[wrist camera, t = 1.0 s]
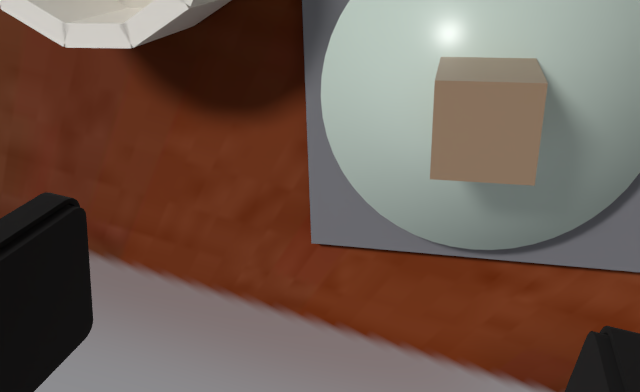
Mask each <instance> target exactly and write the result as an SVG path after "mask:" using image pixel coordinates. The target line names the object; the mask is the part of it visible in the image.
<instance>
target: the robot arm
mask: <svg viewBox="0 0 640 392" xmlns="http://www.w3.org/2000/svg"><path fill="white" fill-rule="evenodd" d="M91 297H92V296H91V283H90V268H89V252H88V237H87V222H86V213H85V211H84V209H82V208H80V205H79V203H78V201H77V200H75V199H74V198H70V197H65V196H61V195H57V194H53V193H46V192H45V193H43V194H40V195H39V196H37V197H36V198H34V199H32V200H31V201H29V202H27V203H26V204H24V205H22V206H21V207H19V208H17V209H16V210H14V211H12V212H11V213H9V214H7V215H6V216H4V217H3V218H1V219H0V392H34V391H35V390H36V389H37V388H38V387H39V386H40V385H41V384H42V383H43V382H44V381H45V380H46V379H47V378H48V377H49V375H50V374H51V373H52V372H53V371H54V370H55V369H56V368H57V367H58V366H59V365H60V364H61V363H62V362H63V361H64V360H65V359H66V358H67V357H68V356H69V355H70V354H71V353H72V352H73V351H74V350H75V349H76V348H77V346H79V345H80V343H82V341H83V340H84V339H85V338H86V337H87V336H88V334H89V332H90V330H91V328H92V324H93V312H92V298H91ZM565 392H640V334H639V333H635V332H631V331H627V330H622V329H618V328H614V327H610V326H605V327H603V329H602V330H601V331H600V333H597V332H593V331H591V332H590V333H589V334H588V335H587V338H586V340H585V342H584V345H583V347H582V350H581V352H580V355H579V357H578V360H577V362H576V365H575V367H574V370H573V372H572V375H571V377H570V380H569V382H568V385H567V388H566V390H565Z"/></svg>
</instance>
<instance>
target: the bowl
mask: <svg viewBox="0 0 640 392" xmlns="http://www.w3.org/2000/svg"><path fill="white" fill-rule="evenodd" d="M230 1H231V0H0V7H1V10H3V11H5V12H6V13H8V14H10V15H11V16H13V17H15V18H16V19H18V20H20V21H21V22H23V23H25V24H26V25H28V26H30V27H31V28H33V29H35V30H36V31H38V32H40V33H41V34H43V35H45V36H46V37H48V38H50V39H51V40H53V41H55V42H56V43H58V44H60V45H61V46H63V47H64V46H65V47H68V48H134V47H137V46H140V45H143V44H145V43H148V42H151V41H154V40H156V39H159V38H162V37H165V36H168V35H170V34H173V33H176V32H179V31H182V30H184V29H187V28H190V27H193V26H195V25H196V24H198V23H199V22H201V21H202V20H204V19H205V18H206V17H208V16H209V15H211V14H212V13H214V12H215V11H217V10H218V9H220V8H221V7H222V6H224V5H225V4H227V3H228V2H230Z"/></svg>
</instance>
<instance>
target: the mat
mask: <svg viewBox="0 0 640 392" xmlns="http://www.w3.org/2000/svg"><path fill="white" fill-rule="evenodd" d="M349 1H350V0H302V14H303V39H304V64H305V90H306V115H307V140H308V166H309V191H310V216H311V242H312V243H315V244H327V245H338V246H349V247H360V248H372V249H383V250H394V251H405V252H417V253H428V254H439V255H450V256H462V257H473V258H484V259H495V260H506V261H518V262H529V263H540V264H551V265H563V266H574V267H585V268H596V269H608V270H619V271H630V272H640V173H639V174H638V176H637V177H636V178H635V179H634V180H633V182H632V183H631V184H630V185H629V187H628V188H627V189H626V190H625V191H624V192H623V193H622V194H621V195H620V196H619V197H618V198H617V199H616V200H615V201H614V202H613V203H611V204H610V205H609V206H608V207H607V208H605V209H604V210H603V211H601V212H600V213H599V214H597V215H596V216H595V217H593V218H592V219H590V220H588V221H587V222H585V223H583V224H582V225H580V226H578V227H576V228H575V229H573V230H571V231H568V232H566V233H564V234H561V235H559V236H557V237H555V238H552V239H549V240H545V241H542V242H539V243H536V244H532V245H527V246H522V247H517V248H511V249H498V250H474V249H465V248H458V247H451V246H447V245H443V244H439V243H436V242H432V241H429V240H427V239H424V238H421V237H419V236H416V235H414V234H412V233H410V232H408V231H406V230H404V229H402V228H400V227H398V226H397V225H395V224H394V223H392V222H391V221H389V220H388V219H386V218H385V217H383V216H382V215H380V214H379V213H378V212H377V211H376V210H375V209H374V208H373V207H371V206H370V205H369V204H368V203H367V202H366V201H365V200H364V199H363V198H362V197H361V196H360V194H359V193H358V192H357V191H356V190H355V189H354V188H353V186H352V185H351V183H350V182H349V181H348V179H347V178H346V176H345V175H344V173H343V172H342V170H341V168H340V166H339V164H338V162H337V160H336V158H335V156H334V154H333V152H332V149H331V146H330V143H329V141H328V138H327V134H326V130H325V126H324V121H323V116H322V106H321V77H322V71H323V65H324V59H325V54H326V51H327V48H328V44H329V41H330V38H331V35H332V33H333V31H334V28H335V26H336V24H337V22H338V19H339V17H340V15H341V14H342V12H343V10H344V9H345V7H346V5H347V4H348V2H349Z"/></svg>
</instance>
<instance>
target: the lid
mask: <svg viewBox="0 0 640 392" xmlns="http://www.w3.org/2000/svg"><path fill="white" fill-rule="evenodd" d="M321 106H322V116H323V121H324V126H325V130H326V134H327V138H328V141H329V143H330V146H331V149H332V152H333V154H334V156H335V158H336V160H337V162H338V164H339V166H340V168H341V170H342V172H343V173H344V175H345V176H346V178H347V179H348V181H349V182H350V183H351V185H352V186H353V188H354V189H355V190H356V191H357V192H358V193H359V194H360V196H361V197H362V198H363V199H364V200H365V201H366V202H367V203H368V204H369V205H370V206H371V207H373V208H374V209H375V210H376V211H377V212H378V213H379V214H380V215H382V216H383V217H385V218H386V219H388V220H389V221H391V222H392V223H394V224H395V225H397V226H398V227H400V228H402V229H404V230H406V231H408V232H410V233H412V234H414V235H416V236H419V237H421V238H424V239H427V240H429V241H432V242H436V243H439V244H443V245H447V246H451V247H458V248H465V249H474V250H498V249H511V248H517V247H522V246H527V245H532V244H536V243H539V242H542V241H545V240H549V239H552V238H555V237H557V236H559V235H561V234H564V233H566V232H568V231H571V230H573V229H575V228H576V227H578V226H580V225H582V224H583V223H585V222H587V221H588V220H590V219H592V218H593V217H595V216H596V215H597V214H599V213H600V212H601V211H603V210H604V209H605V208H607V207H608V206H609V205H610V204H611V203H613V202H614V201H615V200H616V199H617V198H618V197H619V196H620V195H621V194H622V193H623V192H624V191H625V190H626V189H627V188H628V187H629V185H630V184H631V183H632V182H633V180H634V179H635V178H636V177H637V176H638V174H639V173H640V0H350V1H349V2H348V4H347V5H346V7H345V9H344V10H343V12H342V14H341V15H340V17H339V19H338V22H337V24H336V26H335V28H334V31H333V33H332V35H331V38H330V41H329V44H328V48H327V51H326V54H325V59H324V65H323V71H322V77H321Z"/></svg>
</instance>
